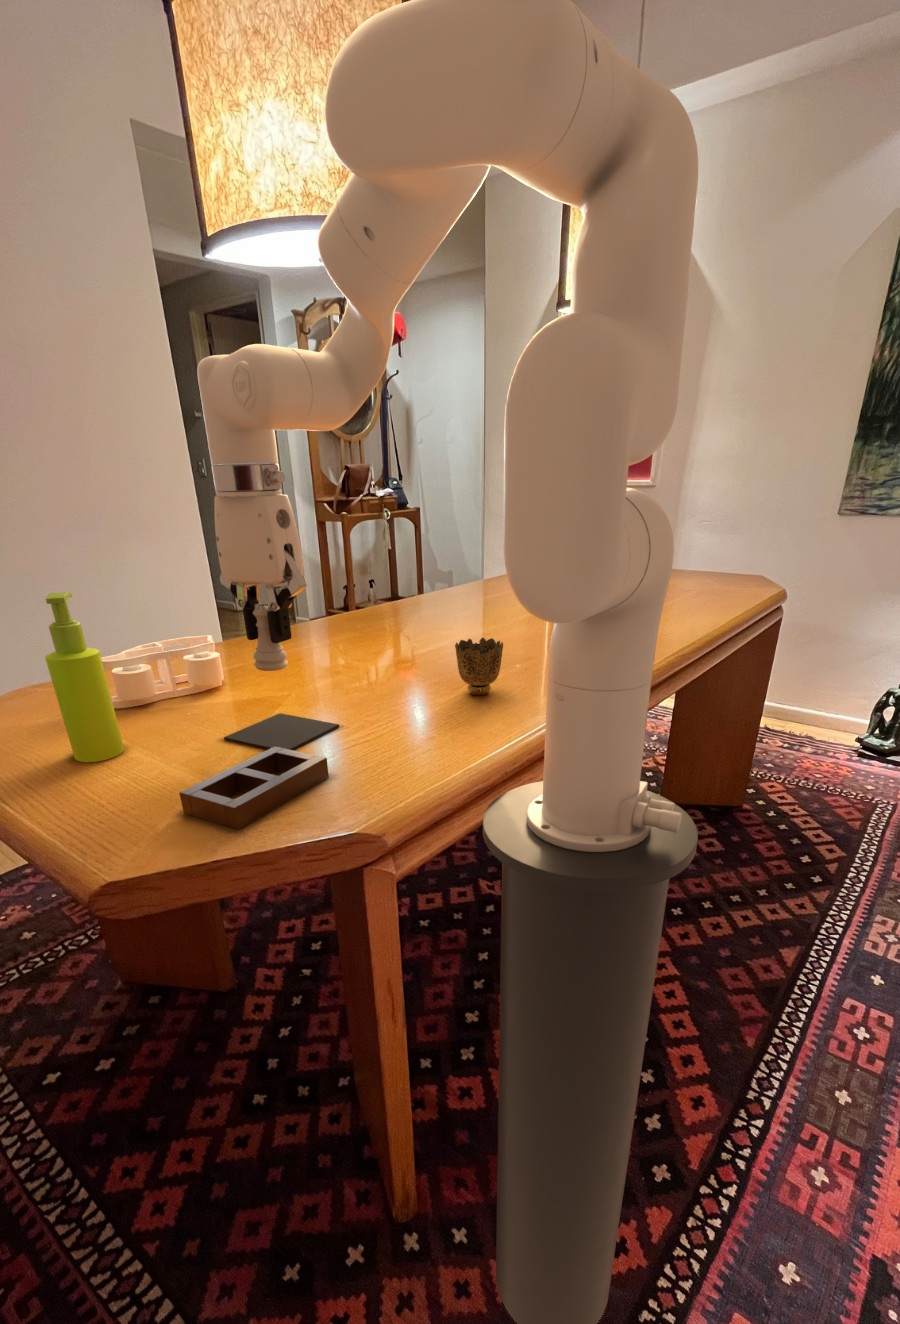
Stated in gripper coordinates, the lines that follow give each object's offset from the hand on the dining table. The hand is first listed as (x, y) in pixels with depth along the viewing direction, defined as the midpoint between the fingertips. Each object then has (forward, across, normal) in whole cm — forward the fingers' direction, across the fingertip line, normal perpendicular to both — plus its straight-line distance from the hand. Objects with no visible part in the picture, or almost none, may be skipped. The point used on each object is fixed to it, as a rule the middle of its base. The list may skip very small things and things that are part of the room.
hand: (269, 638), depth 87 cm
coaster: (+13, 0, 0) cm, 13 cm away
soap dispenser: (+13, +17, +16) cm, 27 cm away
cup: (+13, -16, -28) cm, 35 cm away
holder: (+13, -11, +16) cm, 23 cm away
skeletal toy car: (+13, +30, -6) cm, 33 cm away
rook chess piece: (+4, 0, 0) cm, 4 cm away
